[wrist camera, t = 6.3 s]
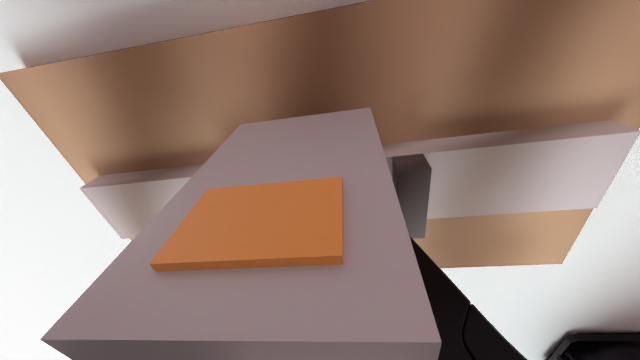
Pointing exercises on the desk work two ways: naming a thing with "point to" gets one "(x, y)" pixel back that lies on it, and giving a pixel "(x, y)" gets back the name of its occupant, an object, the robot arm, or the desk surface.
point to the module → (267, 259)
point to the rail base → (376, 112)
